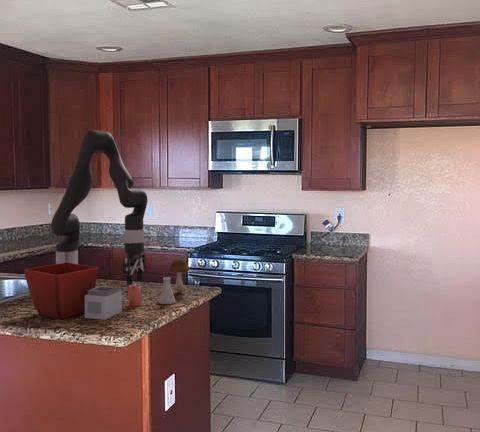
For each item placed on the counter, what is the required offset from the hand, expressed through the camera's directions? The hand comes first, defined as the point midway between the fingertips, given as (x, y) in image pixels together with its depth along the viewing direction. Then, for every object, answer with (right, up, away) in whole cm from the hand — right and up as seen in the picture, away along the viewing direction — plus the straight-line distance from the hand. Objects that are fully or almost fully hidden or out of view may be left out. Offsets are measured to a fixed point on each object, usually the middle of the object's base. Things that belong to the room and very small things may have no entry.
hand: (135, 282), depth 222 cm
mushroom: (+15, -8, +24) cm, 29 cm away
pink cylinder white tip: (0, -9, +1) cm, 9 cm away
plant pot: (-24, -10, -13) cm, 29 cm away
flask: (+12, -9, +5) cm, 16 cm away
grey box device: (-9, -10, -14) cm, 20 cm away
